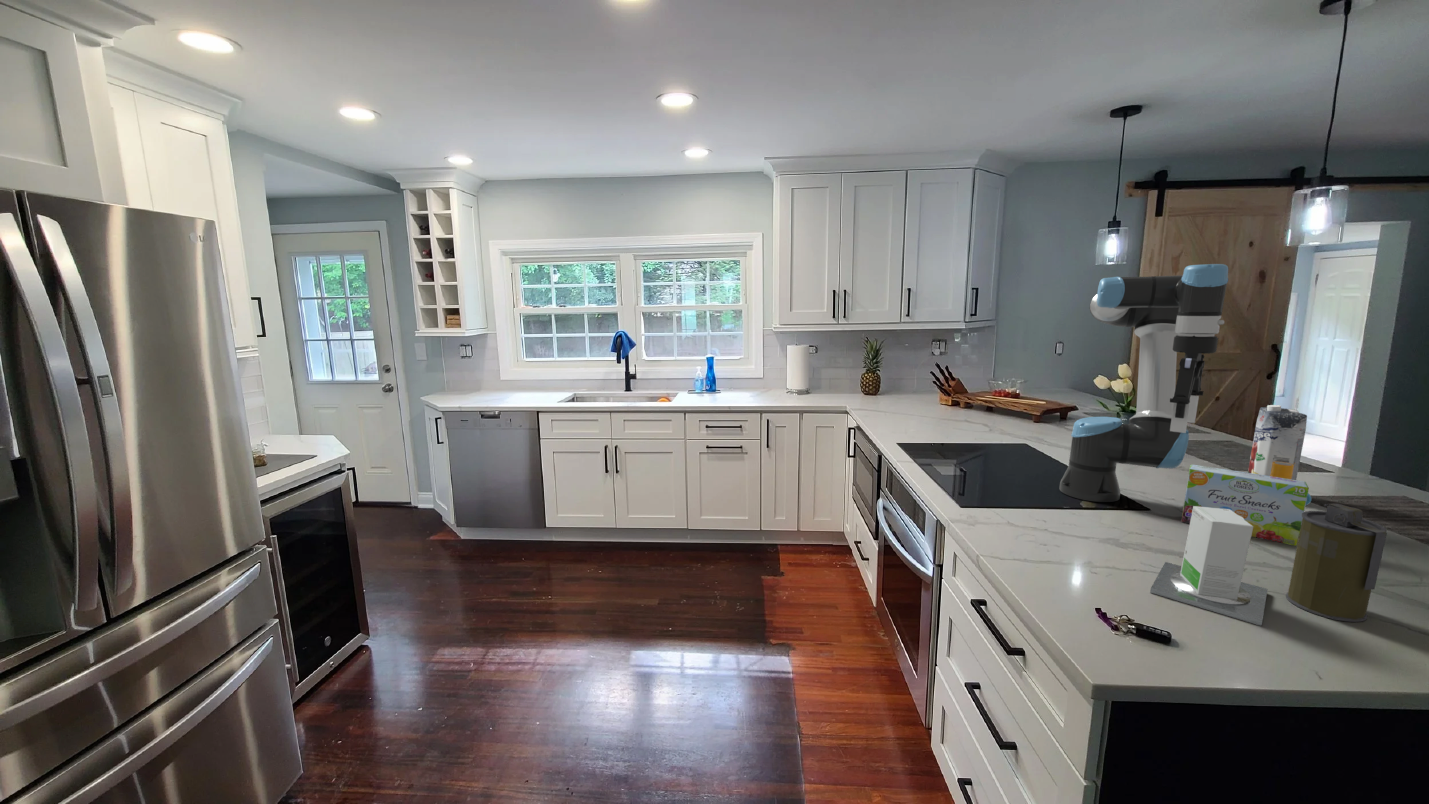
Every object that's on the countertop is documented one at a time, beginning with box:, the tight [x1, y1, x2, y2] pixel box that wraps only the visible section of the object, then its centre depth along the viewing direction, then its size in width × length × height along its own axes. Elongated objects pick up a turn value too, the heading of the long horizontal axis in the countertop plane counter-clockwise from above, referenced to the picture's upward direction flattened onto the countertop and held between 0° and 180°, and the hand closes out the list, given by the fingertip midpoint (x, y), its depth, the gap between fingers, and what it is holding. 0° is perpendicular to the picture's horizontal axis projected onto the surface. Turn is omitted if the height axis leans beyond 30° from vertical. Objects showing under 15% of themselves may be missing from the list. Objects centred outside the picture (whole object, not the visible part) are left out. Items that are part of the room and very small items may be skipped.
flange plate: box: [1150, 561, 1268, 627], centre depth 110 cm, size 16×16×1 cm
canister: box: [1285, 503, 1388, 623], centre depth 102 cm, size 11×10×20 cm
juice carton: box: [1247, 404, 1308, 480], centre depth 160 cm, size 9×10×27 cm
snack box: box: [1180, 464, 1310, 547], centre depth 137 cm, size 21×6×15 cm, turn 47°
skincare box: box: [1180, 506, 1253, 600], centre depth 108 cm, size 8×7×16 cm
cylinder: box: [1270, 461, 1312, 506], centre depth 145 cm, size 12×10×15 cm
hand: (1182, 426), depth 127 cm, fingers open, 13 cm apart
